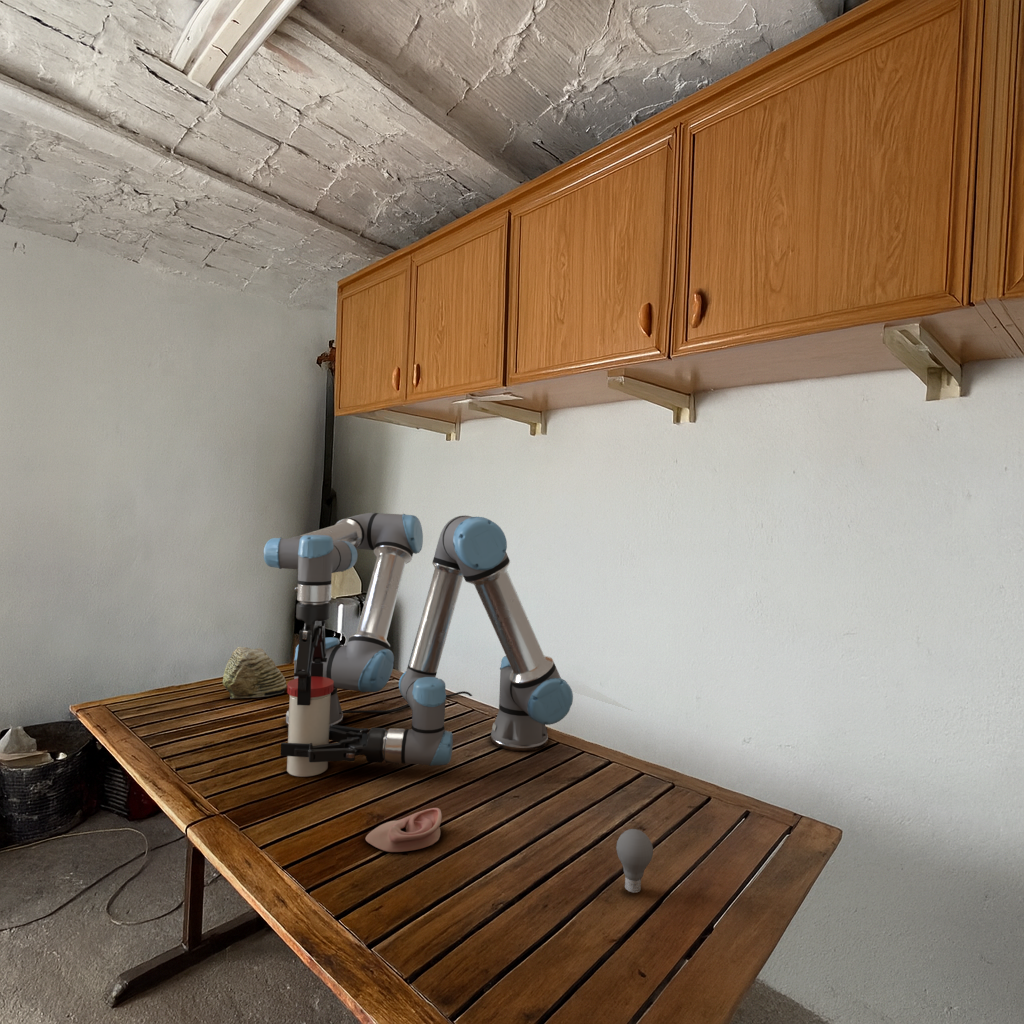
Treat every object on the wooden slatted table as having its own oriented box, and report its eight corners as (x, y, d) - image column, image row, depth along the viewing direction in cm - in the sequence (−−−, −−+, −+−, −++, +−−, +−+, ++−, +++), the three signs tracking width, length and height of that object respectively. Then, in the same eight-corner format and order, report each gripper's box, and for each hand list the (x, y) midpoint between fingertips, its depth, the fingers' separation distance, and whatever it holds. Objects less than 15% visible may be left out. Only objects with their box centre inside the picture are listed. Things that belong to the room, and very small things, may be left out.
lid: (317, 700, 141) (317, 691, 141) (277, 694, 144) (277, 685, 143) (342, 687, 150) (342, 679, 150) (304, 682, 153) (304, 674, 153)
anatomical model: (358, 825, 115) (384, 797, 126) (357, 847, 115) (383, 816, 126) (428, 836, 112) (447, 806, 123) (427, 858, 112) (447, 826, 123)
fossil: (218, 695, 195) (220, 647, 195) (278, 685, 208) (279, 640, 207) (228, 703, 189) (230, 653, 188) (289, 692, 201) (290, 645, 201)
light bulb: (610, 879, 108) (613, 822, 108) (644, 879, 109) (647, 822, 109) (619, 902, 102) (622, 840, 102) (655, 901, 103) (658, 840, 103)
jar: (287, 761, 150) (290, 681, 150) (327, 758, 153) (330, 680, 153) (286, 778, 142) (289, 693, 141) (328, 774, 144) (331, 691, 144)
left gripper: (310, 593, 158) (307, 682, 158) (282, 610, 135) (278, 713, 135) (341, 595, 158) (337, 683, 159) (317, 611, 135) (313, 714, 136)
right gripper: (374, 782, 136) (270, 777, 136) (394, 743, 158) (304, 739, 158) (375, 747, 136) (271, 742, 136) (395, 713, 158) (305, 709, 158)
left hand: (310, 697), depth 147 cm, fingers closed on lid, 10 cm apart
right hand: (289, 740), depth 147 cm, fingers closed on jar, 9 cm apart
